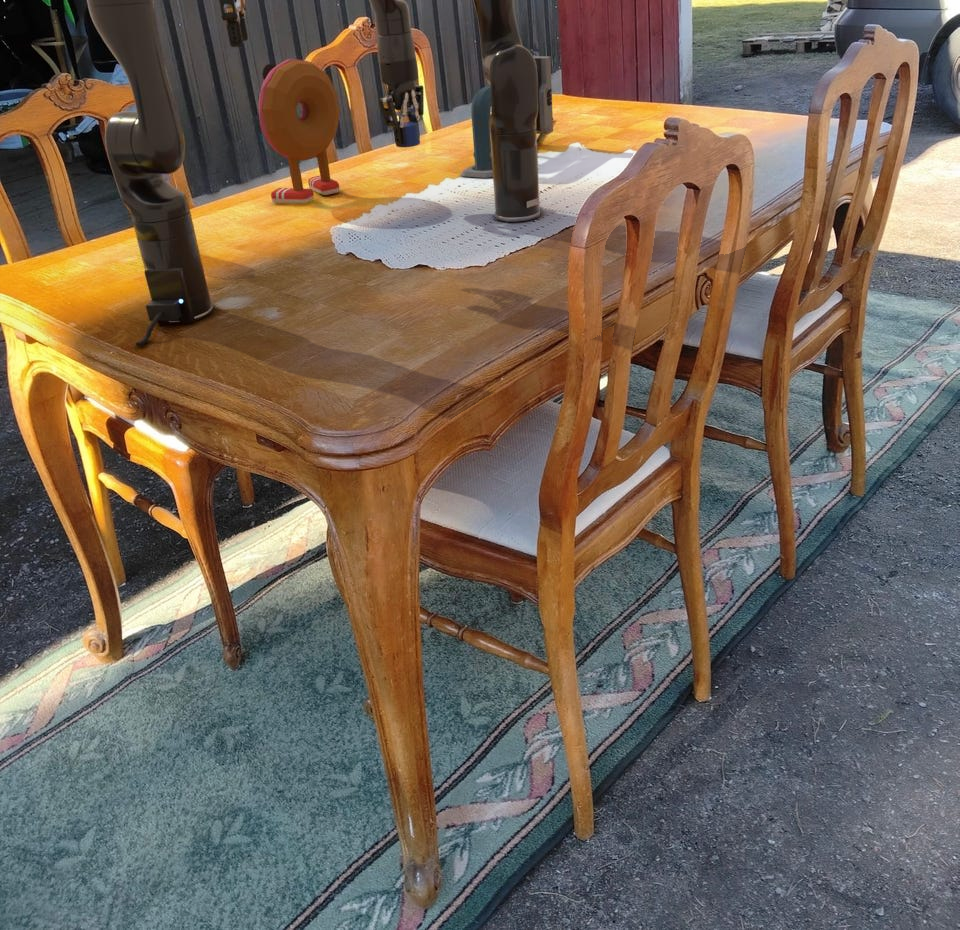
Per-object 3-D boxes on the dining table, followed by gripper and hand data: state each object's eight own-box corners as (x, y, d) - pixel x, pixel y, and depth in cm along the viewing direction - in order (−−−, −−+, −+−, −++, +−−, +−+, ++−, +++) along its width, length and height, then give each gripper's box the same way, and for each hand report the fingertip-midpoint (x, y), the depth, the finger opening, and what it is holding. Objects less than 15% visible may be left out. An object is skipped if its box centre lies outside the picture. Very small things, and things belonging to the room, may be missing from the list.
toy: (329, 182, 236) (308, 50, 220) (358, 186, 230) (339, 51, 215) (260, 205, 222) (234, 66, 207) (289, 210, 216) (264, 67, 201)
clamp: (490, 178, 228) (484, 82, 217) (458, 176, 232) (450, 81, 221) (553, 143, 254) (550, 56, 243) (523, 142, 258) (519, 56, 247)
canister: (414, 140, 208) (411, 120, 206) (424, 144, 204) (421, 123, 202) (392, 144, 207) (389, 124, 205) (402, 148, 203) (399, 128, 201)
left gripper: (238, -60, 159) (257, 46, 167) (247, -63, 171) (264, 36, 179) (192, -56, 158) (213, 50, 167) (204, -59, 171) (223, 40, 179)
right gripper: (400, 51, 204) (410, 134, 212) (362, 63, 193) (375, 150, 202) (430, 50, 200) (439, 134, 209) (394, 63, 190) (405, 151, 198)
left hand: (239, 43), depth 173 cm, fingers open, 8 cm apart
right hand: (408, 142), depth 205 cm, fingers closed on canister, 5 cm apart
